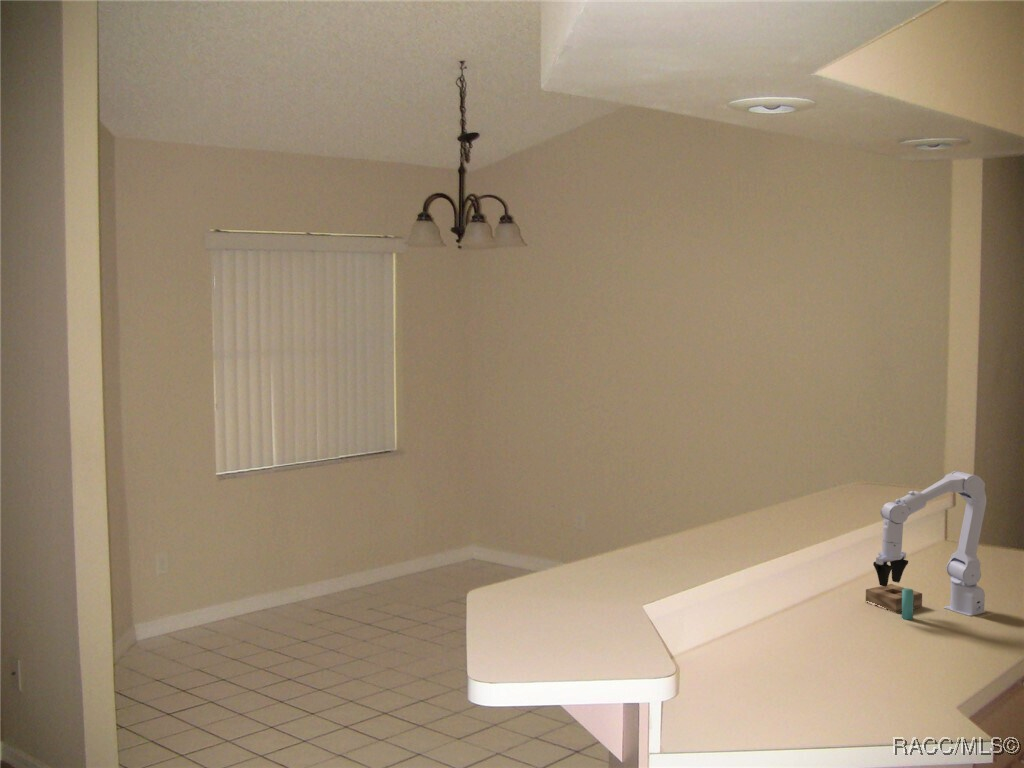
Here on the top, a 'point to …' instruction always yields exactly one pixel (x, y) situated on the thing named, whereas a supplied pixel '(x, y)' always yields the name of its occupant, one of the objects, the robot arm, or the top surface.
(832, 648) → the top surface
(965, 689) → the top surface
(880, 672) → the top surface
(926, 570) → the top surface
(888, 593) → the socket block
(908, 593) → the peg
